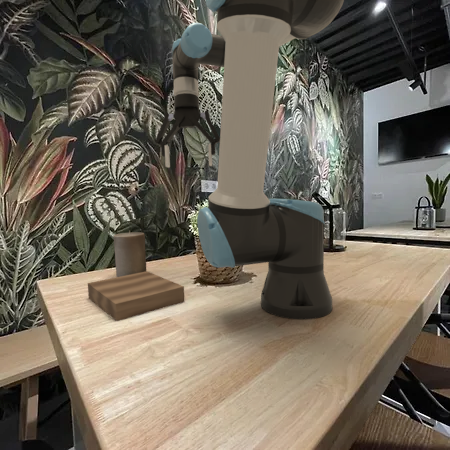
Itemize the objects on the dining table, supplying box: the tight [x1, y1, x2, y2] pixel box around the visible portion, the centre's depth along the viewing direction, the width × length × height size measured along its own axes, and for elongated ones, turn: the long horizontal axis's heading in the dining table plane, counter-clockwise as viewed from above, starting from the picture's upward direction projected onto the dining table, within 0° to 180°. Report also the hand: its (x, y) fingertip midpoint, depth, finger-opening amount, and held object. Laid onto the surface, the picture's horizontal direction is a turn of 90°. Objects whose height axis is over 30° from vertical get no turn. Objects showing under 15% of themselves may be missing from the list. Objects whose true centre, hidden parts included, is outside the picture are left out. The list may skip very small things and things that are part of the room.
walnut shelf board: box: [87, 270, 185, 322], centre depth 70 cm, size 20×16×4 cm
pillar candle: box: [113, 230, 147, 277], centre depth 94 cm, size 10×10×15 cm
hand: (189, 166), depth 90 cm, fingers open, 13 cm apart
